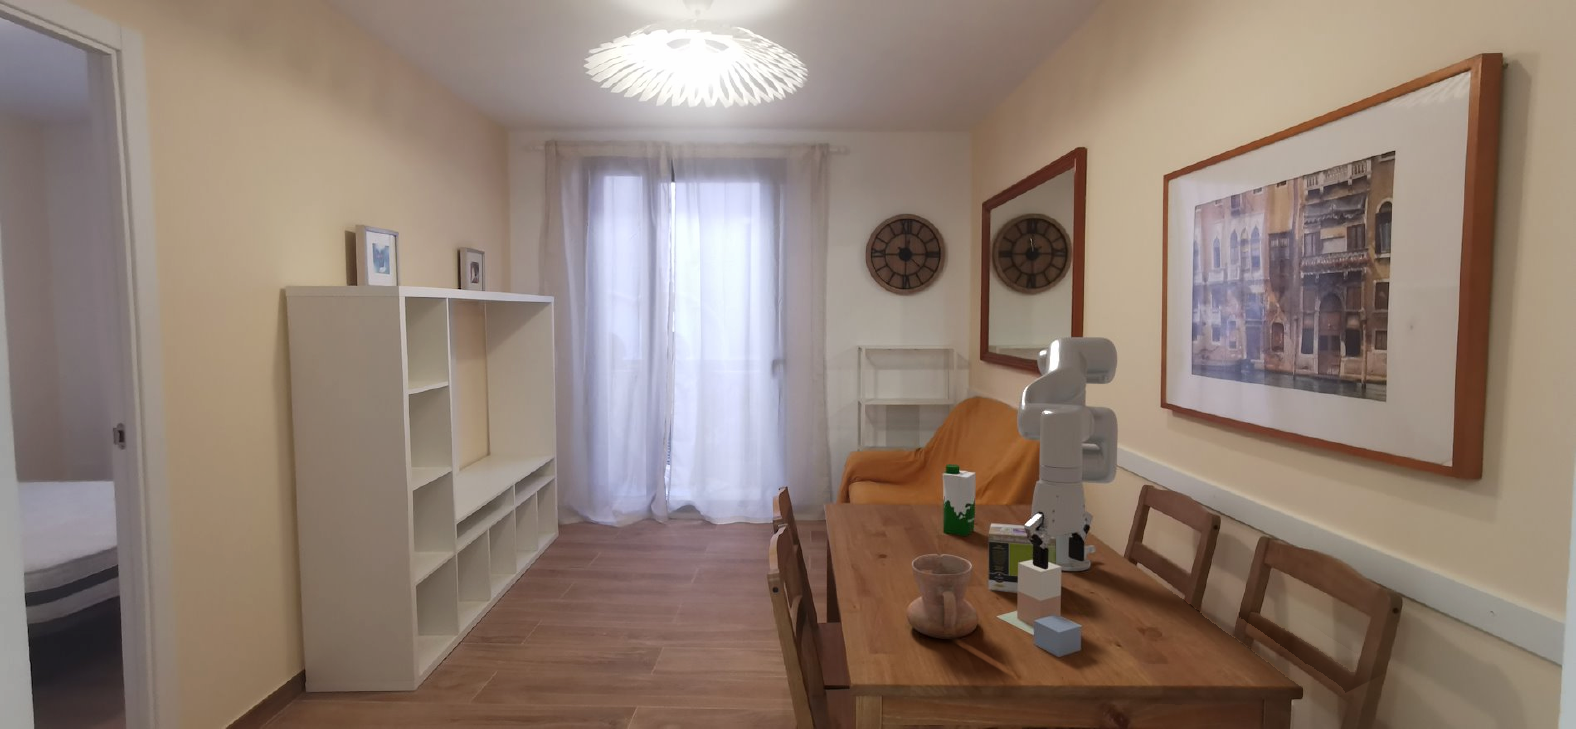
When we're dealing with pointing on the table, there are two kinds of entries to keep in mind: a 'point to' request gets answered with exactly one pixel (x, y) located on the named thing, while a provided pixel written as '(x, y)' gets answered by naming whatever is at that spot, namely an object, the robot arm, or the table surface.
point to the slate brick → (1057, 635)
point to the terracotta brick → (1036, 608)
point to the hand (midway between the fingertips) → (1058, 563)
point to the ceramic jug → (942, 597)
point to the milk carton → (958, 501)
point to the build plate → (1018, 622)
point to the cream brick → (1039, 580)
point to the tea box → (1010, 555)
